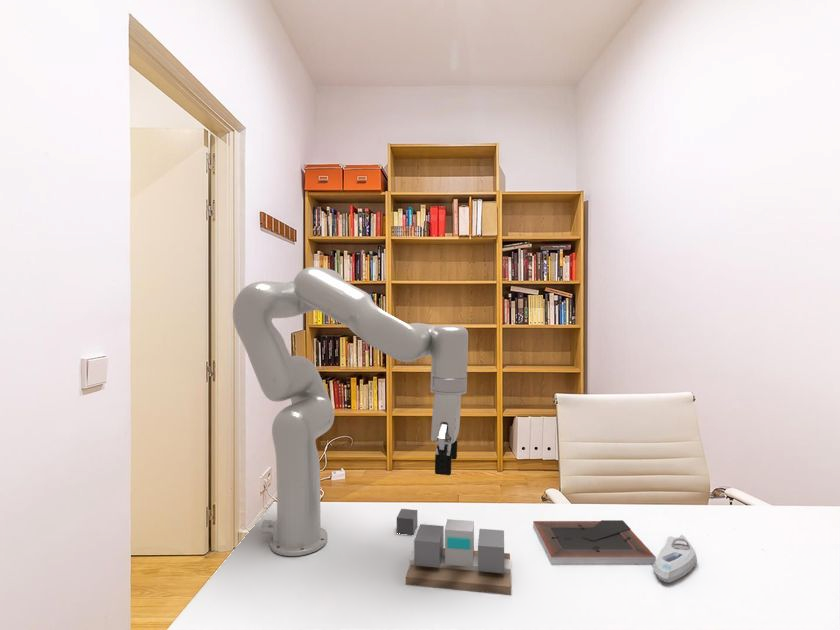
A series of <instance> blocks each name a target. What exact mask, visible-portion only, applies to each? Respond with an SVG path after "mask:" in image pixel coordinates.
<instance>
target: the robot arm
mask: <svg viewBox="0 0 840 630" xmlns="http://www.w3.org/2000/svg"><path fill="white" fill-rule="evenodd" d="M312 311H318V312H320V313H322V314H324V315H326V316H328V317H330V319H331V318H332V319H333V320H335V322H338V323H340V324H341V325H343V326H345V327H346V328H348V329H350V331H351V332H352V333H353V334H355V335H356V336H357V337H358V338H359V339H361V340H362V341H363V342H365V343H366V344H367V345H369V346H371V347H373V348H374V349H377V350H378V351H380V352H382V353H383V354H384V355H385V354H386V355H387V356H389V357H391V358H392V359H395V360H396V361H400V362H405V363H410V362H411V363H412V362H414V361H417V360H418V359H421V358H426V357H431V362H430V363H431V365H430V367H431V368H430V392H431V393H432V394H434V396H433V403H432V416H431V418H432V419H431V433H430V440H431V442H432V443H435V441H436V448H435V454H434V474H435V475H439V476H440V475H442V476H451V474H452V460H456V459H457V458H458V436H459V431H460V425H461V412H462V411H461V410H462V408H461V407H462V405H461V404H462V402H461V401H462V395H465V394H467V391H468V389H467V388H468V359H469V357H468V355H469V332H468V329H467V328H466V327H465V326H461V325H449V324H448V325H433V324H429V323H422V322H411V323H407V322H405V321H403V320H401V319H399V318H398V317H396V316H394V315H391V314H390V313H388V312H386V311H385V310H384V309H381V308H380V307H379V306H378V305H377V304H376V303H375V302H374V300H373V299H372V296H371V295H370V294H369V293H368V292H366V291H364V290H363V289H361V288H360V287H359V288H358V287H357V286H354V285H353V284H352V283H349V282H347V281H346V280H344V278H343V276H342V275H341V274H340V273H339V272H337V271H335V270H333V269H331V268H323V267H319V266H310V267H306V268H304V269H302V270H300V271H299V272H298V273H297V274H296V276H295V277H294V279H293V280H292V281H290V282H289V281H287V282H280V281H267V280H266V281H265V280H263V281H261V280H260V281H255V282H252V283H250V284H248V285H246V286H245V287H244V288H242V289H241V290H240V291H239V293H238V294H237V296H236V298H235V300H234V303H233V307H232V320H233V324H234V327H235V330H236V332H237V335H238V336H239V339H240V341H241V343H242V345H243V347H244V348H245V351H246V354H247V356H248V359H249V362H250V365H251V367H252V369H253V372H254V374H255V377H256V379H257V381H258V384H259V386H260V389H261V391H262V392H263V395H264V396H265V397H266V399H268V400H269V401H271V402H285V401H287V400H290V401H291V403H292V404H290V405H288V406H285V407H284V408H283V409H281V410H280V411H279V412H278V413H277V414H276V416H274V417H275V418H274V419H273V421H272V422H273V423H272V427H271V434H272V435H271V436H272V441H273V446H274V453H275V465H276V466H275V467H276V520H270V519H264V520H263V521H262V523H261V532H262V534H267V535H268V534H271V535H272V537H271V539H270V540H269V543H270V544H269V545H270V550H272V552H274V553H275V554H277V555H281V556H285V557H287V556H288V557H298V556H304V555H305V556H306V555H308V554H309V555H310V554H312V553H314V552H316V551H318V550H321V549H322V548H323V547H324V546H325V545H326V544H327V542H328V536H329V535H328V532H327V531H326V529H324V528H323V527H321V463H320V455H319V451H318V448H317V444H316V443H317V442H316V440H317V439H318V438H319V437H321V436H323V435H324V434H325V433H327V432H328V431H329V430H330V429H331V428H332V426H333V424H334V422H335V421H334V420H335V409H334V407H333V406H334V405H333V404H332V401H331V399H330V396H329V393H328V392H327V391H328V390H327V389H326V387H325V384H324V382H323V379H322V377H321V375H320V371H318V369H317V367H316V365H315V364H314V363H313V362H312V360H310V359H308V358H307V357H305V356H302V355H291V353H290V352H289V349H288V347H287V345H286V342H285V339H284V338H283V336H282V334H281V332H280V331H279V330H278V329H277V327H275V325H274V324H273V321H272V320H273V319H284V318H285V319H287V318H288V319H289V318H292V317H296V316H300V315H303V314H306V313H309V312H312Z"/></svg>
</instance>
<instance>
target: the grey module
mask: <svg viewBox="0 0 840 630" xmlns="http://www.w3.org/2000/svg"><path fill="white" fill-rule="evenodd" d="M444 548H445V565H457V566H469V567H473V559H474V551H475V521H474V520H466V519H465V520H463V519H462V520H461V519H448V518H447V519H446V524H445V528H444Z"/></svg>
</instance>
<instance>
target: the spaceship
mask: <svg viewBox="0 0 840 630" xmlns="http://www.w3.org/2000/svg"><path fill="white" fill-rule="evenodd" d="M696 555H697V553H696V551H695V550H694V547H693V545H692V544H691V543H690V542H689V541H688V539H687V538H686V537H685V536H684V535H683V534H680V536H679V537H674V536H667V539H666V543H665V544H664V546H663V547H662V548H661V550H660V552H659V554H658V556H657V557H656V560H655V562H654V565H652V568H653V570H654V572H655V574H656V576H657V578H659V580H661V581H662V582H664V583H671V582H674V581H676V580H678V579H680V578H681V577H683V576H685V575H687V573H689V572H691V570H692V569H693V568H694V567H695V566H696V565H697V563H696V562H697V556H696Z"/></svg>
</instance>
